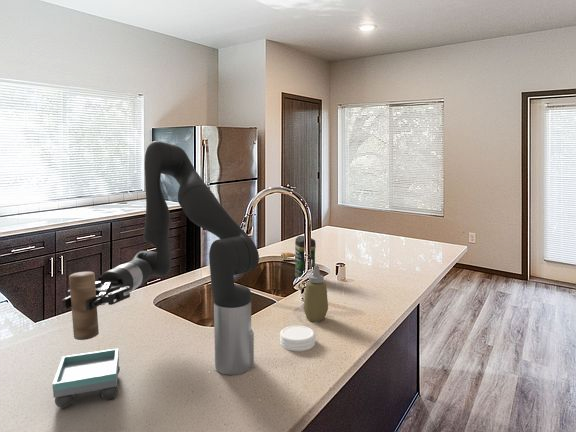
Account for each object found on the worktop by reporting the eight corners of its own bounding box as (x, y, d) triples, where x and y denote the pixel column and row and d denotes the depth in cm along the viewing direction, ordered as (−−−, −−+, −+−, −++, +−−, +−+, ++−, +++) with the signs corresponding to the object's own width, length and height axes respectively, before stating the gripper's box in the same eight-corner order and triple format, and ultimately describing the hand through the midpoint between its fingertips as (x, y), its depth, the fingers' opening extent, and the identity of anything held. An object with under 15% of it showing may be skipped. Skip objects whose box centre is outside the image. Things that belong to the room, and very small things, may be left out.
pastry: (296, 257, 210) (296, 250, 209) (300, 261, 203) (300, 253, 203) (279, 258, 207) (279, 251, 206) (282, 262, 200) (283, 255, 200)
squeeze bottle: (329, 323, 128) (330, 269, 125) (303, 323, 128) (304, 268, 125) (326, 313, 136) (328, 262, 133) (303, 313, 136) (303, 261, 133)
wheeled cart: (120, 372, 99) (118, 347, 98) (118, 400, 88) (116, 373, 87) (63, 381, 95) (61, 356, 94) (54, 413, 83) (51, 384, 82)
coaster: (308, 334, 121) (308, 323, 121) (320, 349, 112) (320, 337, 111) (276, 338, 118) (276, 327, 118) (285, 354, 109) (285, 342, 108)
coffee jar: (292, 276, 177) (293, 234, 174) (309, 274, 179) (310, 234, 177) (299, 283, 168) (300, 239, 165) (317, 281, 170) (318, 238, 167)
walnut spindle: (99, 328, 94) (95, 270, 91) (97, 338, 89) (93, 277, 87) (75, 331, 92) (70, 272, 90) (72, 341, 87) (67, 279, 85)
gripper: (94, 265, 104) (44, 286, 87) (146, 268, 101) (104, 290, 85) (96, 292, 105) (47, 319, 88) (147, 296, 103) (107, 324, 86)
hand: (76, 305), depth 87 cm, fingers closed on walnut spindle, 5 cm apart
